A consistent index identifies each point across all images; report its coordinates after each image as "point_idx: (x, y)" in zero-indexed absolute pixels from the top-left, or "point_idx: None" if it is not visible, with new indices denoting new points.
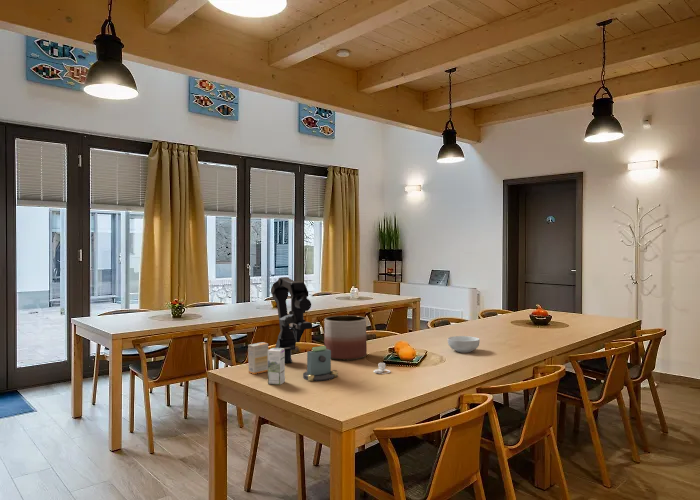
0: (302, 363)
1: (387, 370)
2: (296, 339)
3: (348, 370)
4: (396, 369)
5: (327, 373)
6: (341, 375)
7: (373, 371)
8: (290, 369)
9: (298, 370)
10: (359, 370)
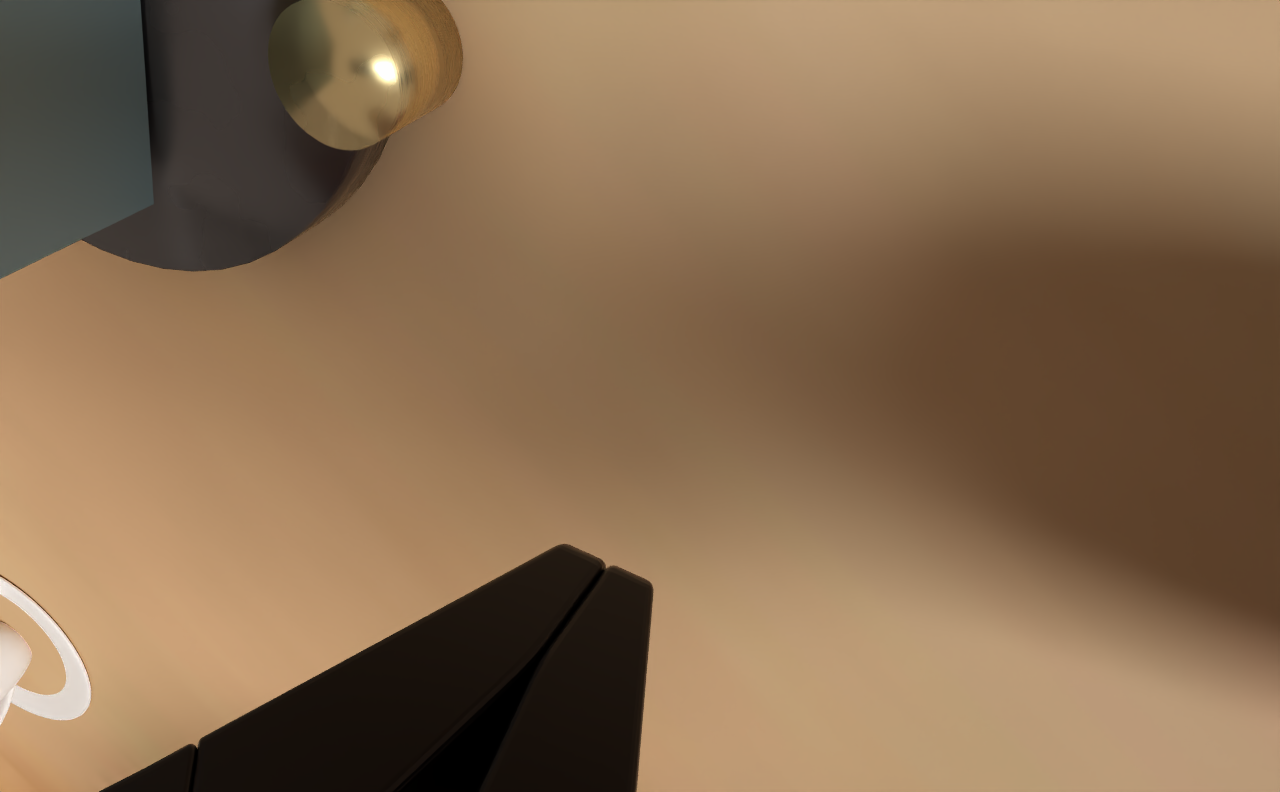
0: (1233, 638)
1: (14, 691)
2: (481, 616)
3: (228, 538)
4: (18, 752)
5: None
6: (49, 262)
7: (31, 602)
8: (1105, 23)
9: (834, 78)
10: (157, 591)
